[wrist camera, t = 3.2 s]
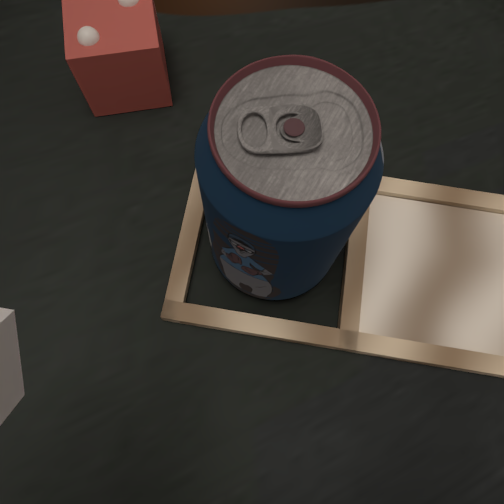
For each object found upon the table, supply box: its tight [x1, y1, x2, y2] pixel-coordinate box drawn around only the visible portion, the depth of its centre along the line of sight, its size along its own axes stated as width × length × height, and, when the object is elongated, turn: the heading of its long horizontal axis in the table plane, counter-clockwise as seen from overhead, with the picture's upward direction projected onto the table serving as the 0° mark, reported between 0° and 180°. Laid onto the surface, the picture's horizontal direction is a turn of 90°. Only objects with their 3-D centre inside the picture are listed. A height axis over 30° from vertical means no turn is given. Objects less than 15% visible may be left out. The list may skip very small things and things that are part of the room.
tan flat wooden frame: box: [160, 168, 504, 378], centre depth 25 cm, size 30×10×1 cm, turn 81°
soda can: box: [195, 55, 384, 300], centre depth 20 cm, size 7×7×12 cm
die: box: [62, 0, 173, 117], centre depth 27 cm, size 5×5×6 cm
